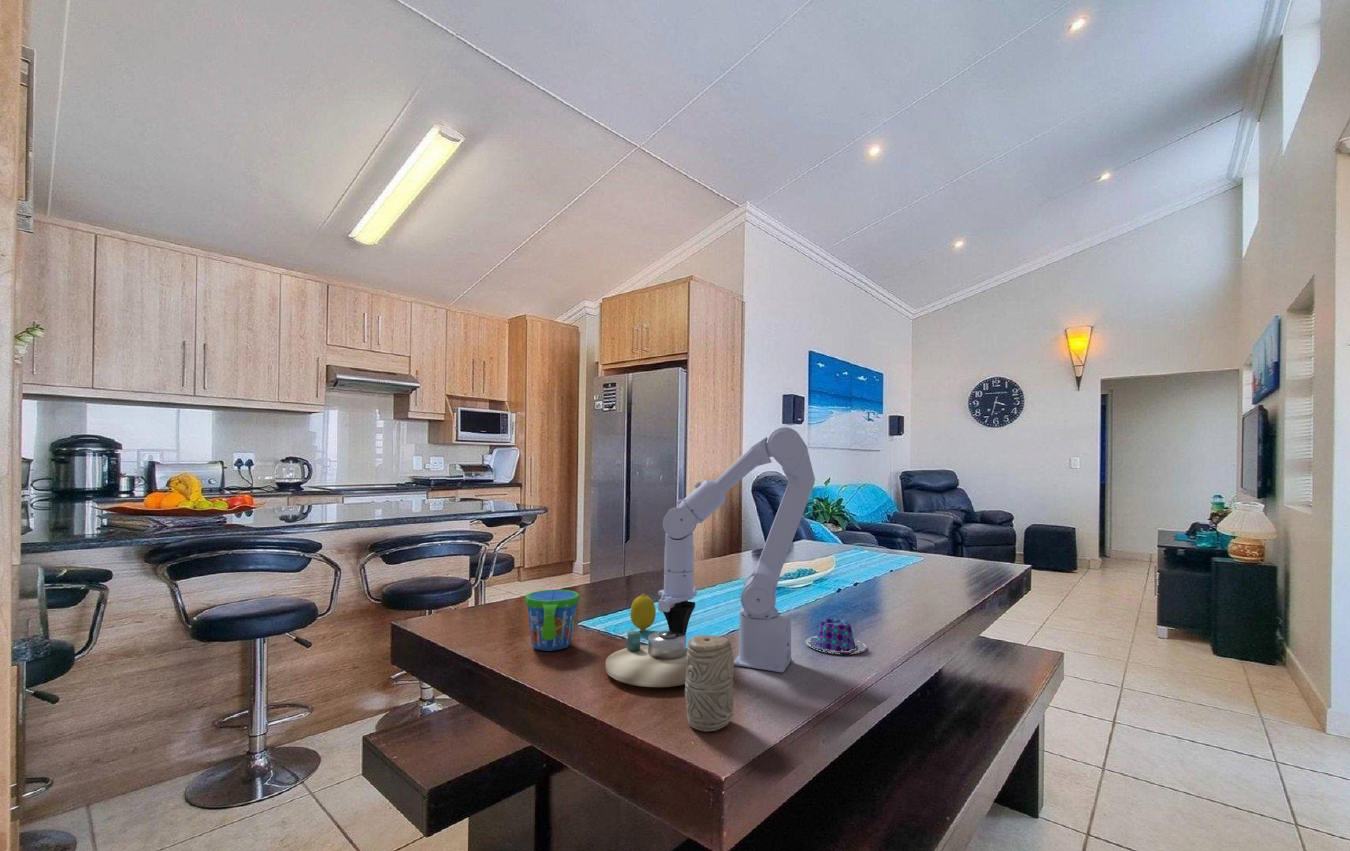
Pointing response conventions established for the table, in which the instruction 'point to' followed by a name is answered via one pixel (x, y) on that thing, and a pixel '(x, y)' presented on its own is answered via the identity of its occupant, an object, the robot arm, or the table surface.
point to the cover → (667, 645)
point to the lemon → (643, 612)
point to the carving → (709, 682)
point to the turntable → (644, 666)
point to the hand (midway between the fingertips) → (677, 641)
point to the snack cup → (551, 618)
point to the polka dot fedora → (835, 636)
